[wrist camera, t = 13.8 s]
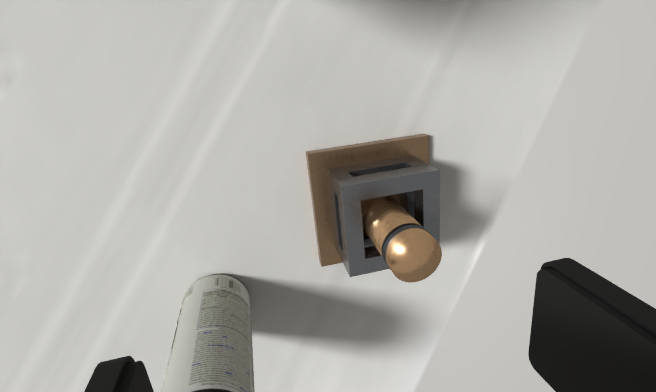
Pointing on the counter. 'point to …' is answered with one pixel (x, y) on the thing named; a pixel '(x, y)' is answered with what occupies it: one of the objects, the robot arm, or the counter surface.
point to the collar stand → (369, 195)
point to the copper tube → (400, 239)
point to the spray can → (212, 339)
